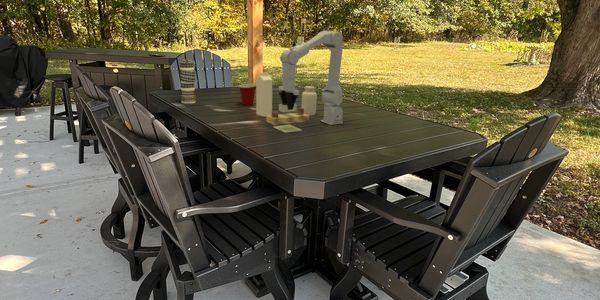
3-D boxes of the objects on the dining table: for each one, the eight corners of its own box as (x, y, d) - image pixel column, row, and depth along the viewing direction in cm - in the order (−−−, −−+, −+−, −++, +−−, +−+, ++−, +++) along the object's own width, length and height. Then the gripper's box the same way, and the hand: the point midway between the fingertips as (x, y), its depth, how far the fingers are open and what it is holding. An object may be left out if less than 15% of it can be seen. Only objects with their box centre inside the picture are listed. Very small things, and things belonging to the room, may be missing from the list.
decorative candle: (180, 100, 235) (177, 58, 227) (196, 100, 238) (194, 58, 230) (180, 103, 226) (178, 60, 219) (196, 103, 229) (194, 60, 222)
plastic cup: (236, 103, 233) (235, 83, 229) (253, 102, 237) (253, 83, 234) (241, 107, 223) (241, 86, 220) (259, 106, 228) (259, 85, 224)
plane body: (300, 118, 201) (300, 106, 199) (309, 121, 195) (309, 109, 193) (266, 121, 191) (266, 109, 189) (274, 125, 184) (274, 112, 183)
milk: (272, 115, 205) (272, 73, 198) (262, 116, 201) (263, 73, 194) (264, 113, 209) (265, 72, 203) (255, 114, 205) (256, 72, 199)
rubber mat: (302, 130, 176) (302, 129, 176) (285, 132, 172) (285, 132, 171) (289, 125, 185) (289, 124, 185) (273, 127, 180) (273, 126, 180)
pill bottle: (316, 116, 207) (317, 88, 202) (301, 115, 207) (302, 87, 202) (315, 113, 214) (317, 86, 210) (301, 112, 215) (302, 85, 210)
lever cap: (291, 109, 179) (292, 102, 178) (296, 110, 176) (296, 104, 175) (278, 110, 175) (278, 103, 174) (283, 112, 172) (283, 105, 171)
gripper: (273, 76, 175) (272, 106, 179) (289, 80, 163) (288, 112, 167) (286, 76, 179) (285, 105, 183) (303, 80, 167) (302, 110, 171)
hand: (288, 108), depth 175 cm, fingers closed on lever cap, 4 cm apart
